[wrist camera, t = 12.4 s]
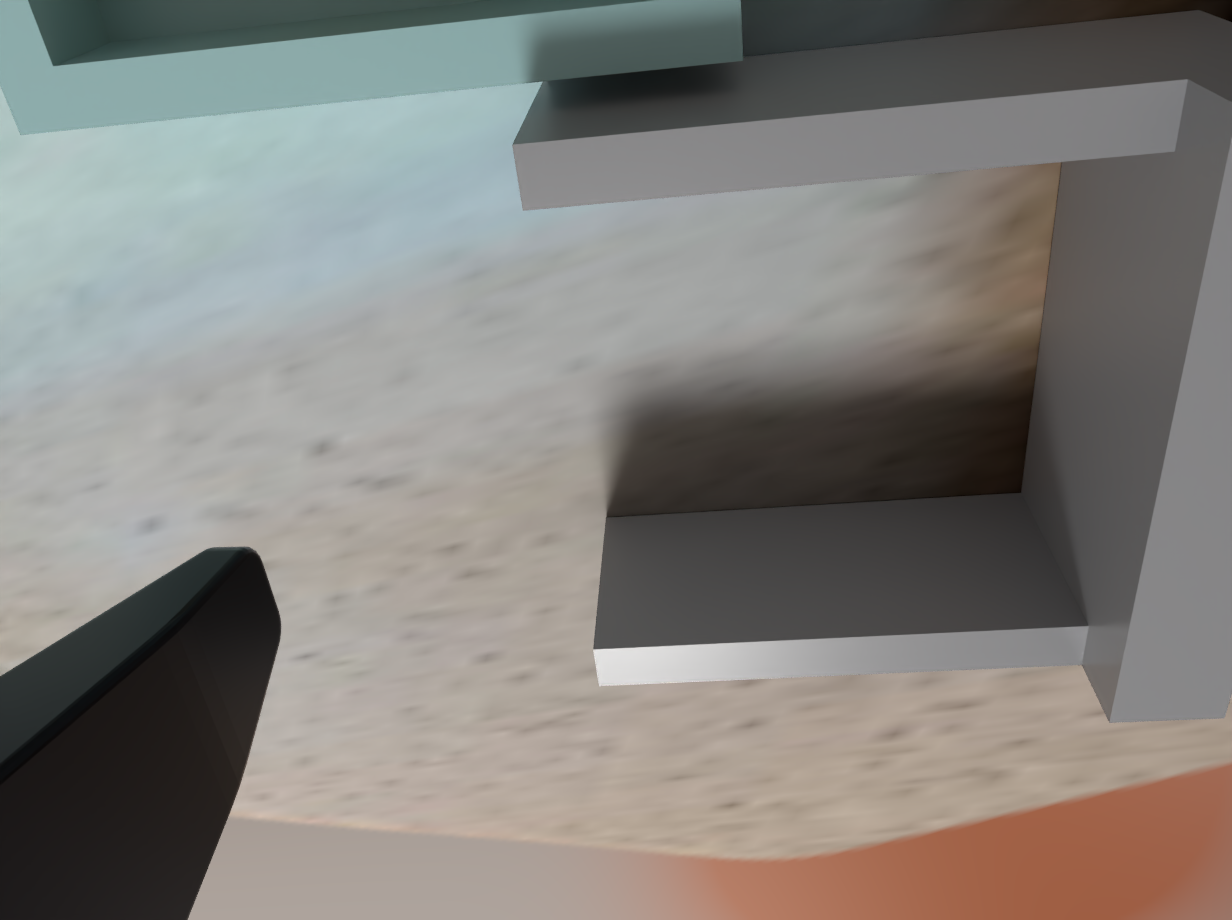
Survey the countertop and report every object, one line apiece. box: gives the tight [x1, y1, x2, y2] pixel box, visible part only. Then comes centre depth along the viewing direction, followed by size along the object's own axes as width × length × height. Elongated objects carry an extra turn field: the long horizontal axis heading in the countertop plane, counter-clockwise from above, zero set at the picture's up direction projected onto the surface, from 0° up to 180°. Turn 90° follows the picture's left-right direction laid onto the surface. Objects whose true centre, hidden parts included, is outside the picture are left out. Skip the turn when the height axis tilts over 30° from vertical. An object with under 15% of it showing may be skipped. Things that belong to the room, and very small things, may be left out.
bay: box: [513, 10, 1232, 723], centre depth 19 cm, size 12×11×6 cm
